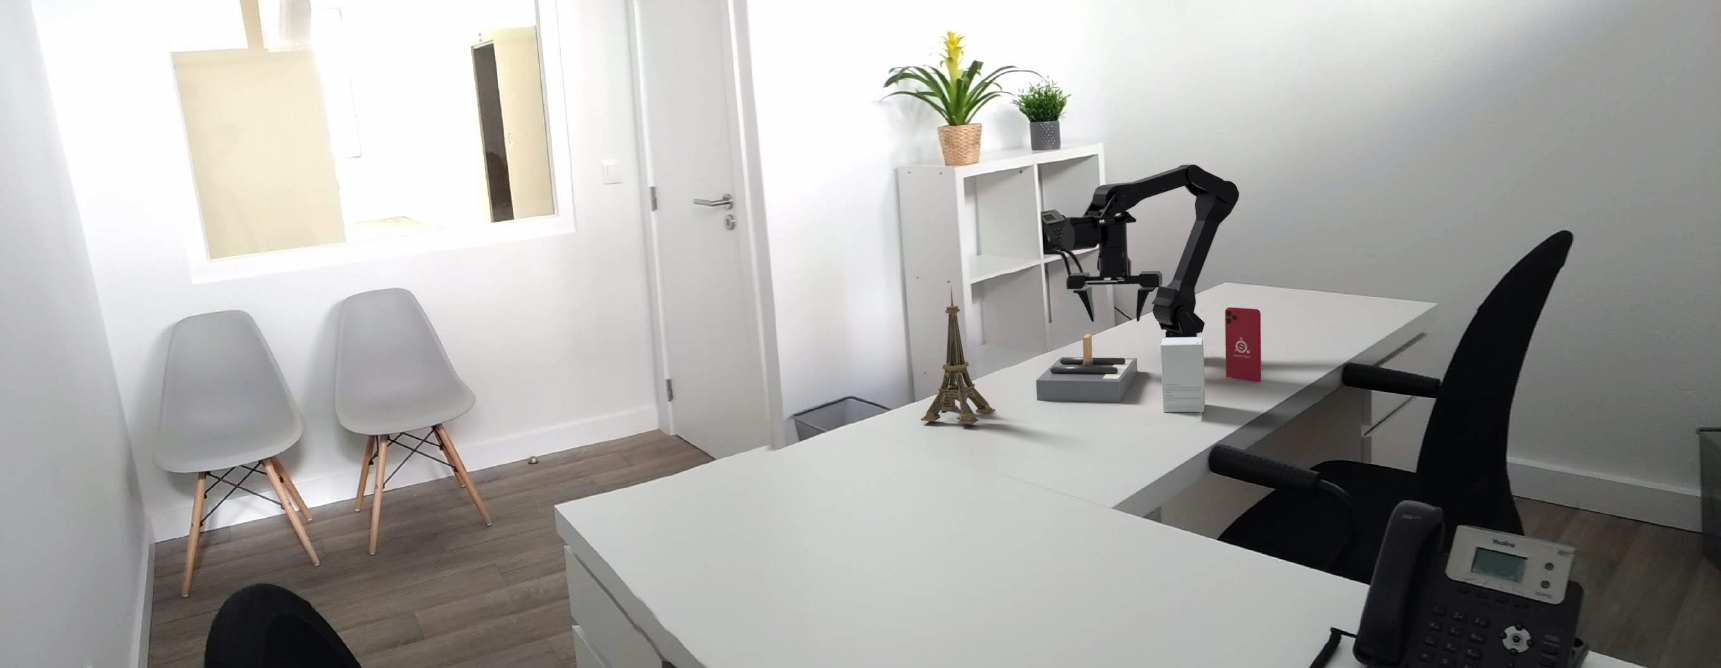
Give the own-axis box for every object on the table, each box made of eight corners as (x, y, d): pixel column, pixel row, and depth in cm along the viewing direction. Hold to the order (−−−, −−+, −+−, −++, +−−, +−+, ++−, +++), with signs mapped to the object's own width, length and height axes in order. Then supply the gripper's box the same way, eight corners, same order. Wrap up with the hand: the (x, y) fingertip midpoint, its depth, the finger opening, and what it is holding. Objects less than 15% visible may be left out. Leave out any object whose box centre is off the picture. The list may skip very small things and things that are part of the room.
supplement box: (1205, 403, 200) (1204, 336, 198) (1204, 413, 193) (1203, 343, 191) (1164, 402, 202) (1162, 336, 200) (1161, 412, 195) (1159, 344, 193)
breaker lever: (1094, 365, 219) (1093, 333, 218) (1089, 369, 215) (1089, 337, 214) (1086, 365, 220) (1085, 333, 219) (1081, 369, 216) (1081, 337, 215)
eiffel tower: (945, 407, 211) (938, 280, 207) (995, 410, 206) (988, 280, 202) (920, 420, 202) (912, 288, 198) (972, 424, 197) (964, 288, 193)
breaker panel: (1137, 377, 225) (1136, 351, 224) (1119, 402, 205) (1118, 374, 204) (1061, 375, 231) (1060, 351, 230) (1036, 400, 211) (1035, 373, 210)
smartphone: (1261, 384, 211) (1260, 309, 208) (1259, 385, 210) (1258, 309, 208) (1227, 380, 216) (1225, 306, 214) (1224, 381, 216) (1223, 307, 213)
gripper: (1165, 240, 225) (1166, 314, 227) (1075, 243, 232) (1078, 315, 235) (1157, 246, 215) (1159, 323, 217) (1064, 249, 222) (1067, 324, 224)
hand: (1115, 321), depth 224 cm, fingers open, 9 cm apart
